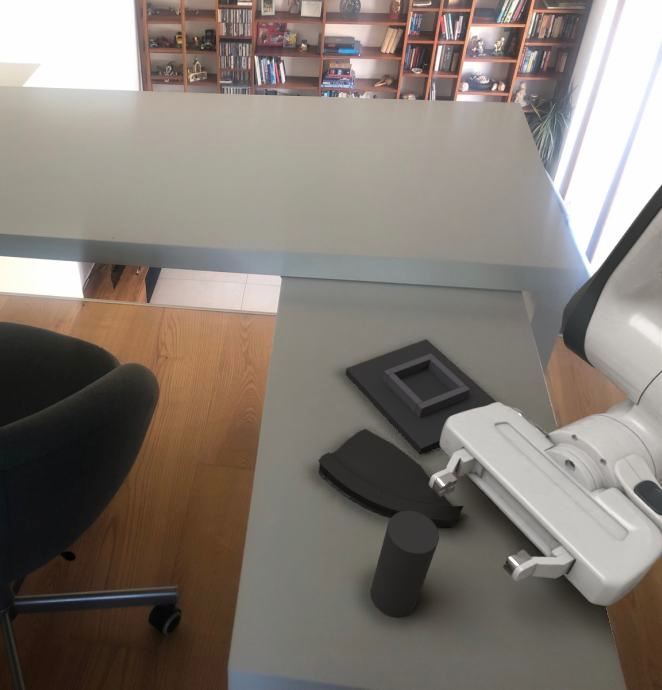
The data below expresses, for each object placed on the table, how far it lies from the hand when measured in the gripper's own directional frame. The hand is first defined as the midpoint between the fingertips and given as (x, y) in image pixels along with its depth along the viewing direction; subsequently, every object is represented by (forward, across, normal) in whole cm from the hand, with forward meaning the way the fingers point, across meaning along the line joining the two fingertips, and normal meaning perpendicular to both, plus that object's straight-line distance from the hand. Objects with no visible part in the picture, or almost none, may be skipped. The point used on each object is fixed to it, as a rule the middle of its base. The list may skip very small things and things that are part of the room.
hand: (470, 526), depth 60 cm
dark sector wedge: (0, -11, +7) cm, 12 cm away
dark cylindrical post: (+7, 0, +6) cm, 9 cm away
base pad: (-12, -19, +6) cm, 23 cm away
